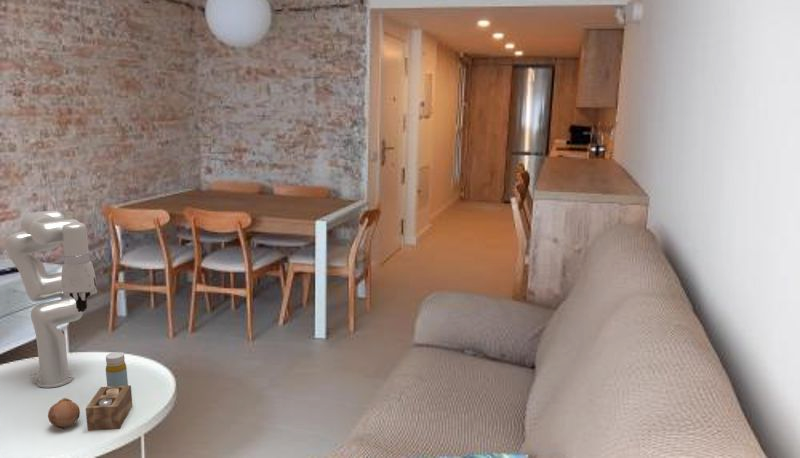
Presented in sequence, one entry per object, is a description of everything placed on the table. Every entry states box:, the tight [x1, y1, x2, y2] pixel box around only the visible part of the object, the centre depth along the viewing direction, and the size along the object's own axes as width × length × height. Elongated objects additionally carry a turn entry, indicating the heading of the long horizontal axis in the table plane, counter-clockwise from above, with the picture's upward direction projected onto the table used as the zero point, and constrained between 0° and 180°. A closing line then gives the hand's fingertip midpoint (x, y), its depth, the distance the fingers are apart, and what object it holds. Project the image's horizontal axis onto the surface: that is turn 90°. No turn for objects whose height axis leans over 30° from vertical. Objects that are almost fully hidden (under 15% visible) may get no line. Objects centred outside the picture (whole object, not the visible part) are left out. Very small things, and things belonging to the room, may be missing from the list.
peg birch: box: [106, 388, 119, 395], centre depth 224 cm, size 4×4×8 cm
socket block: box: [85, 384, 134, 432], centre depth 220 cm, size 10×16×8 cm, turn 8°
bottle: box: [105, 351, 129, 387], centre depth 238 cm, size 7×7×15 cm
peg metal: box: [99, 398, 112, 406], centre depth 216 cm, size 4×4×8 cm
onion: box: [47, 397, 81, 430], centre depth 215 cm, size 10×9×10 cm
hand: (82, 310), depth 224 cm, fingers closed
